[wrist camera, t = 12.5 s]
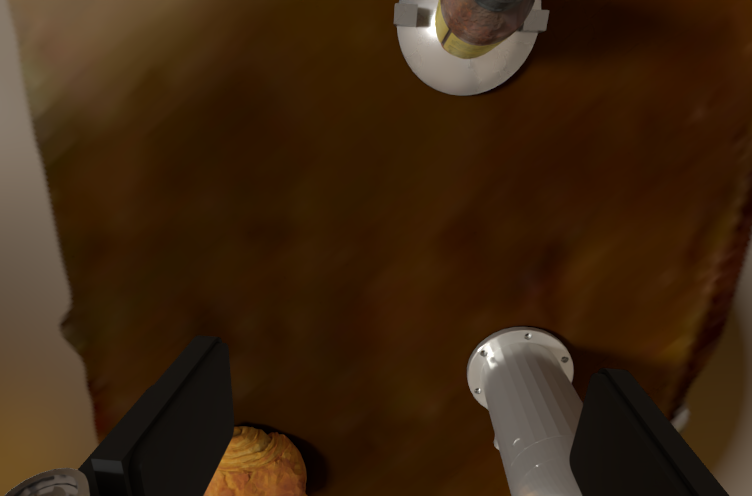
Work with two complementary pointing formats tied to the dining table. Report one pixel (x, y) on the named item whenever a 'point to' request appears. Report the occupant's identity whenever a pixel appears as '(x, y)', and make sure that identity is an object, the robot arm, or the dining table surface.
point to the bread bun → (259, 466)
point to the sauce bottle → (478, 24)
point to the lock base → (451, 71)
